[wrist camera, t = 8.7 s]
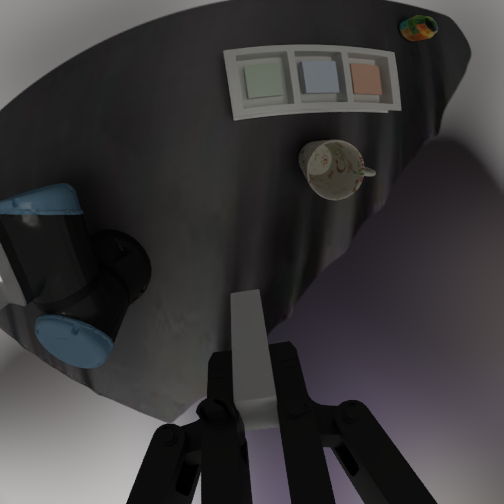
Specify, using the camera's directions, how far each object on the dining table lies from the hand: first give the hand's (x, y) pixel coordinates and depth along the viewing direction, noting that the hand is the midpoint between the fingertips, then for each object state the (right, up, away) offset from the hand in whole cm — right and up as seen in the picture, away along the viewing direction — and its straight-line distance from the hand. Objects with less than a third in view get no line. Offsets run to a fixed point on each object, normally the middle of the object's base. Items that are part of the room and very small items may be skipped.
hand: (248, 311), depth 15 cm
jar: (+29, +44, +16) cm, 55 cm away
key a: (+2, +28, +20) cm, 35 cm away
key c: (+18, +31, +20) cm, 41 cm away
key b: (+10, +29, +19) cm, 36 cm away
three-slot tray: (+10, +30, +22) cm, 38 cm away
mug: (+13, +19, +28) cm, 36 cm away
